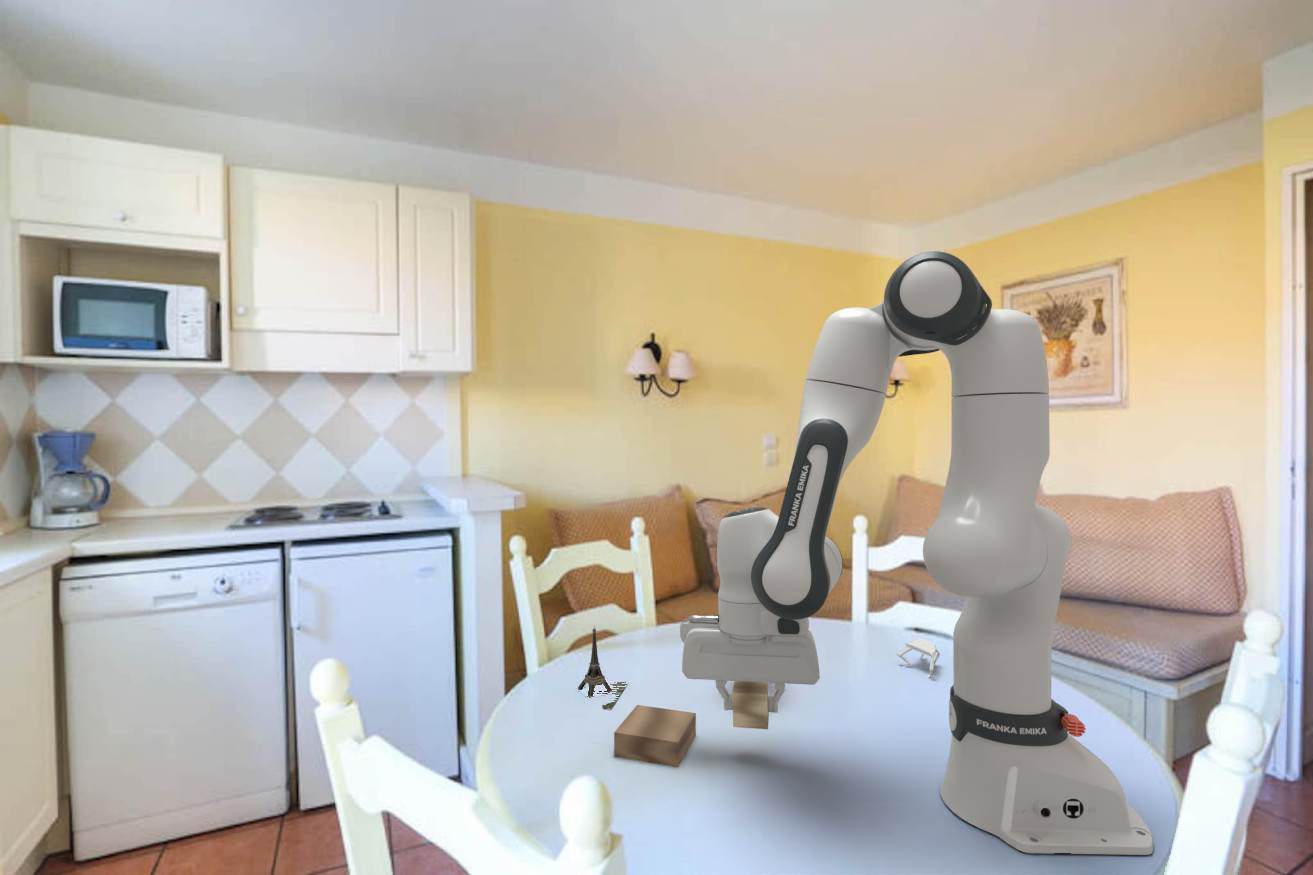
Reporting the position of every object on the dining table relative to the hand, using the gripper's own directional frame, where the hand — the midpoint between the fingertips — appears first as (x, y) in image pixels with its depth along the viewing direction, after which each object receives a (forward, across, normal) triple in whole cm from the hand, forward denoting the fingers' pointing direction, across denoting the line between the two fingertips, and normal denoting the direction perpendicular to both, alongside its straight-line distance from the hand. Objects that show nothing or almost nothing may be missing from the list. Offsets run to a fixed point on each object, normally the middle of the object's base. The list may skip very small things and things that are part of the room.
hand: (751, 709), depth 93 cm
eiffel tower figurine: (+7, -30, +19) cm, 36 cm away
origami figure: (+8, +32, +42) cm, 54 cm away
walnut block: (+7, -15, +1) cm, 16 cm away
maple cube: (+2, 0, 0) cm, 2 cm away
